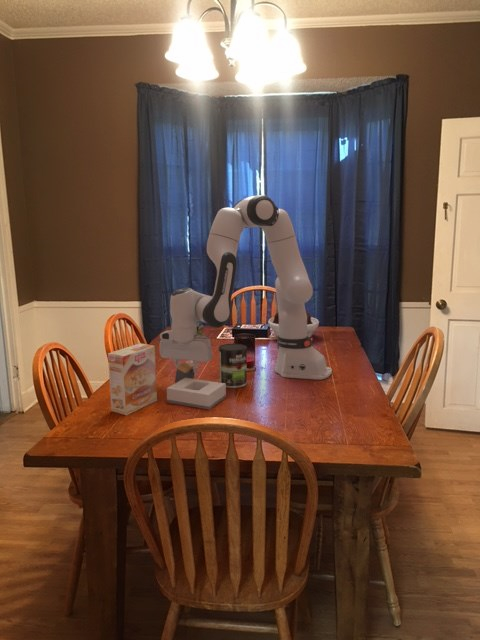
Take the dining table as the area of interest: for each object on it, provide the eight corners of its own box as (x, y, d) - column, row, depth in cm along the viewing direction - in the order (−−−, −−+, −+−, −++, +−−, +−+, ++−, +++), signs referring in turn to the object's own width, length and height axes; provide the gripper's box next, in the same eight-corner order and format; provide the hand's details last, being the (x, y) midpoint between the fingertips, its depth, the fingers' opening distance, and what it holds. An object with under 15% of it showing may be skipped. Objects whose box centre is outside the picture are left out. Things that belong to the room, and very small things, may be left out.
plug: (193, 381, 186) (196, 364, 184) (183, 387, 181) (186, 369, 179) (184, 377, 188) (187, 360, 185) (174, 382, 183) (177, 365, 180)
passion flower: (190, 352, 252) (189, 329, 257) (210, 348, 249) (210, 326, 254) (181, 344, 242) (181, 321, 247) (203, 340, 239) (202, 317, 244)
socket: (225, 397, 174) (225, 383, 173) (209, 409, 164) (208, 394, 162) (185, 391, 181) (185, 377, 180) (167, 402, 170) (166, 388, 169)
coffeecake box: (126, 415, 159) (122, 356, 155) (110, 411, 163) (106, 353, 159) (158, 400, 172) (155, 345, 168) (142, 397, 176) (139, 342, 171)
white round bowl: (322, 345, 240) (322, 314, 237) (269, 345, 241) (269, 314, 237) (315, 333, 265) (315, 304, 261) (267, 333, 265) (267, 305, 262)
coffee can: (252, 385, 186) (251, 348, 183) (226, 390, 181) (226, 352, 178) (239, 377, 195) (238, 341, 192) (214, 381, 190) (214, 345, 187)
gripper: (214, 333, 179) (216, 371, 182) (165, 330, 187) (168, 366, 190) (205, 338, 173) (208, 376, 176) (155, 334, 182) (158, 371, 185)
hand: (186, 371), depth 183 cm, fingers closed on plug, 5 cm apart
